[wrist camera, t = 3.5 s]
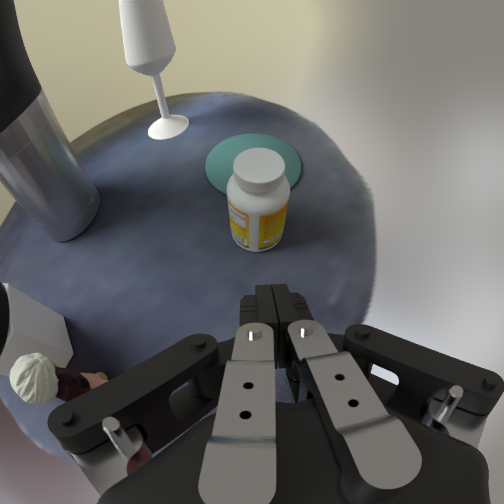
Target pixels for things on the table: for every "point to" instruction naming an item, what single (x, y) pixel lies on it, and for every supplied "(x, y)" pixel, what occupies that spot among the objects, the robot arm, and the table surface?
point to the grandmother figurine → (50, 380)
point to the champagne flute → (151, 55)
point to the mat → (229, 149)
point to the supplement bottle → (258, 199)
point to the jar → (30, 330)
